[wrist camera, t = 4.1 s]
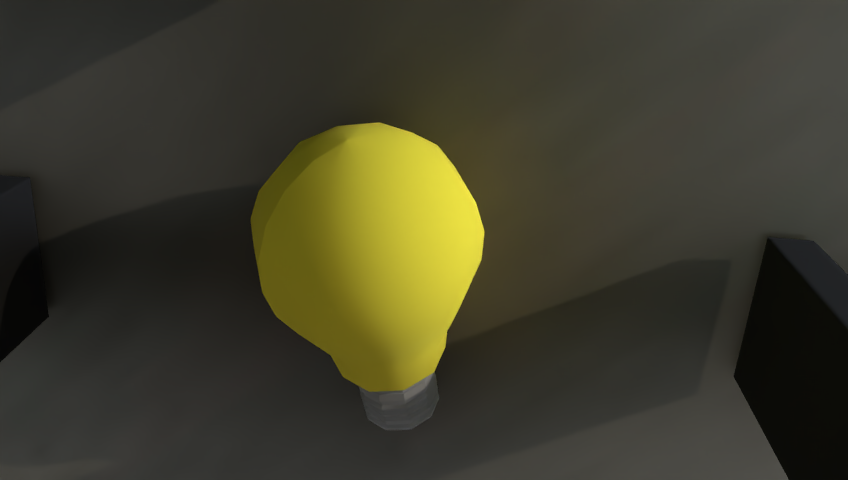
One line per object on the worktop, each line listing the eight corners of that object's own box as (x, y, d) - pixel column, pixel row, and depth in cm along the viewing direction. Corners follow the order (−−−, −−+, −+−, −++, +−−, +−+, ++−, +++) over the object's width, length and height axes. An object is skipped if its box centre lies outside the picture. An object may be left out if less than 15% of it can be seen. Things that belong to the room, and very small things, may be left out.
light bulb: (427, 60, 13) (507, 176, 10) (461, 327, 16) (525, 465, 14) (215, 110, 12) (237, 247, 9) (300, 374, 16) (333, 526, 13)
